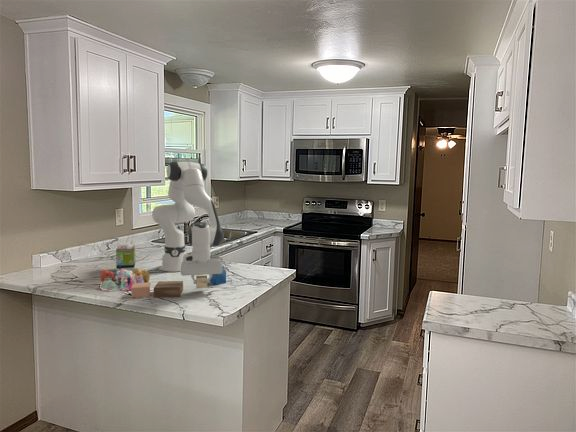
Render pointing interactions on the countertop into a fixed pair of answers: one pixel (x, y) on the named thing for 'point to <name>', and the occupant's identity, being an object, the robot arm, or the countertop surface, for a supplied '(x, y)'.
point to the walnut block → (168, 289)
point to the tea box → (125, 258)
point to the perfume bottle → (219, 278)
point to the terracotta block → (140, 290)
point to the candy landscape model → (123, 279)
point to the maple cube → (201, 281)
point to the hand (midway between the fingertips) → (201, 283)
